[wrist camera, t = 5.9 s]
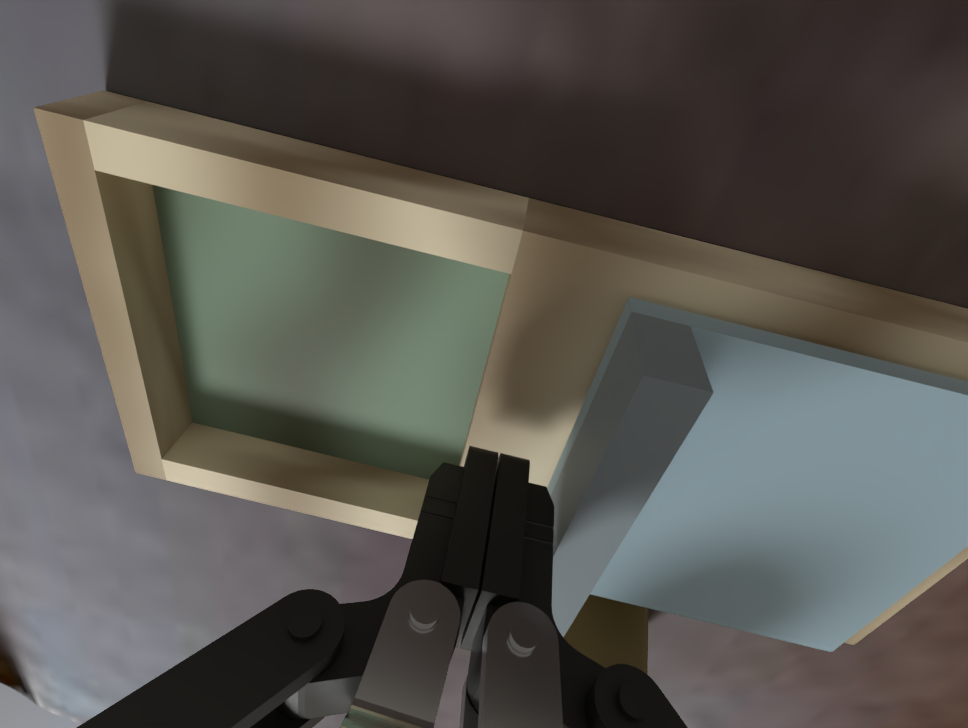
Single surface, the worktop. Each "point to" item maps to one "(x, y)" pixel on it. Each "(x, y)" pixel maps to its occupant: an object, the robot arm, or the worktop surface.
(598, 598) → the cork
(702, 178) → the worktop surface
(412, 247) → the board
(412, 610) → the robot arm
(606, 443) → the cover
